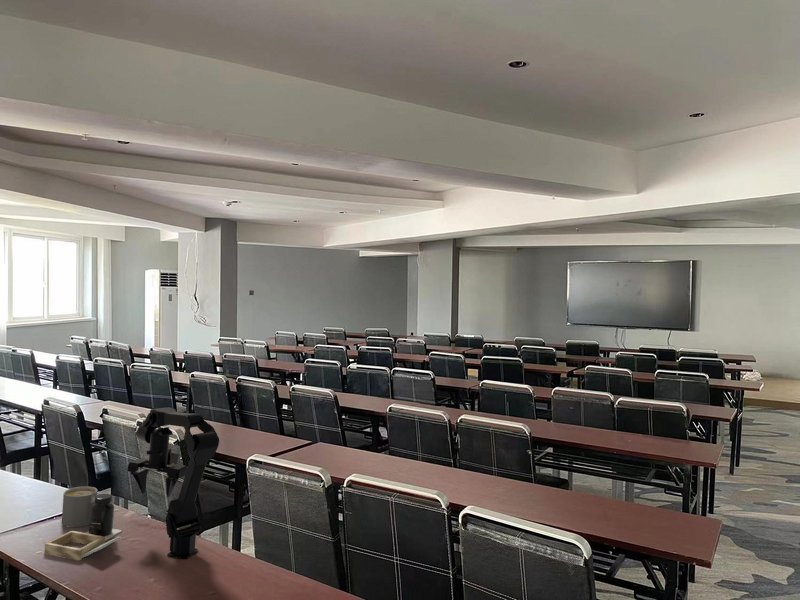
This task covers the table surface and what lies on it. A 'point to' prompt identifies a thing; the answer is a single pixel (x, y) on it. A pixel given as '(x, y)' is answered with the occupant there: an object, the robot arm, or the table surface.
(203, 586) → the table surface
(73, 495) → the coffee mug
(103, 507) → the supplement bottle
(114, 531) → the felt mat
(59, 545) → the frame
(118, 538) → the frame lid
